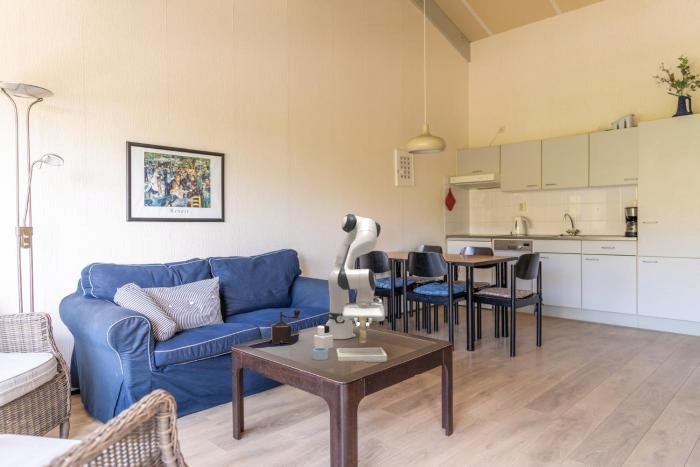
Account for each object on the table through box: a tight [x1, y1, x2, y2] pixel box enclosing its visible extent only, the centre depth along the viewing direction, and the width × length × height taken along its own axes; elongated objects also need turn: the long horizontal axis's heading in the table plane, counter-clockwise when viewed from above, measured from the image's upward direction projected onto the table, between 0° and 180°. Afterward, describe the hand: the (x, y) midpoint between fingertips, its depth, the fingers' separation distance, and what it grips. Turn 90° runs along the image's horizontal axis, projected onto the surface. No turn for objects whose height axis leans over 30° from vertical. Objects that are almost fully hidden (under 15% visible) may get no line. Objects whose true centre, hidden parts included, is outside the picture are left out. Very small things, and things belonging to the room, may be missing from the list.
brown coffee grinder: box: [270, 308, 302, 343], centre depth 250 cm, size 16×11×18 cm
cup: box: [312, 347, 329, 361], centre depth 211 cm, size 7×7×5 cm
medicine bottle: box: [313, 324, 334, 350], centre depth 232 cm, size 7×7×12 cm
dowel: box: [358, 316, 367, 344], centre depth 215 cm, size 3×3×12 cm
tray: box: [336, 346, 388, 364], centre depth 215 cm, size 16×22×3 cm
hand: (362, 327), depth 215 cm, fingers closed on dowel, 3 cm apart
